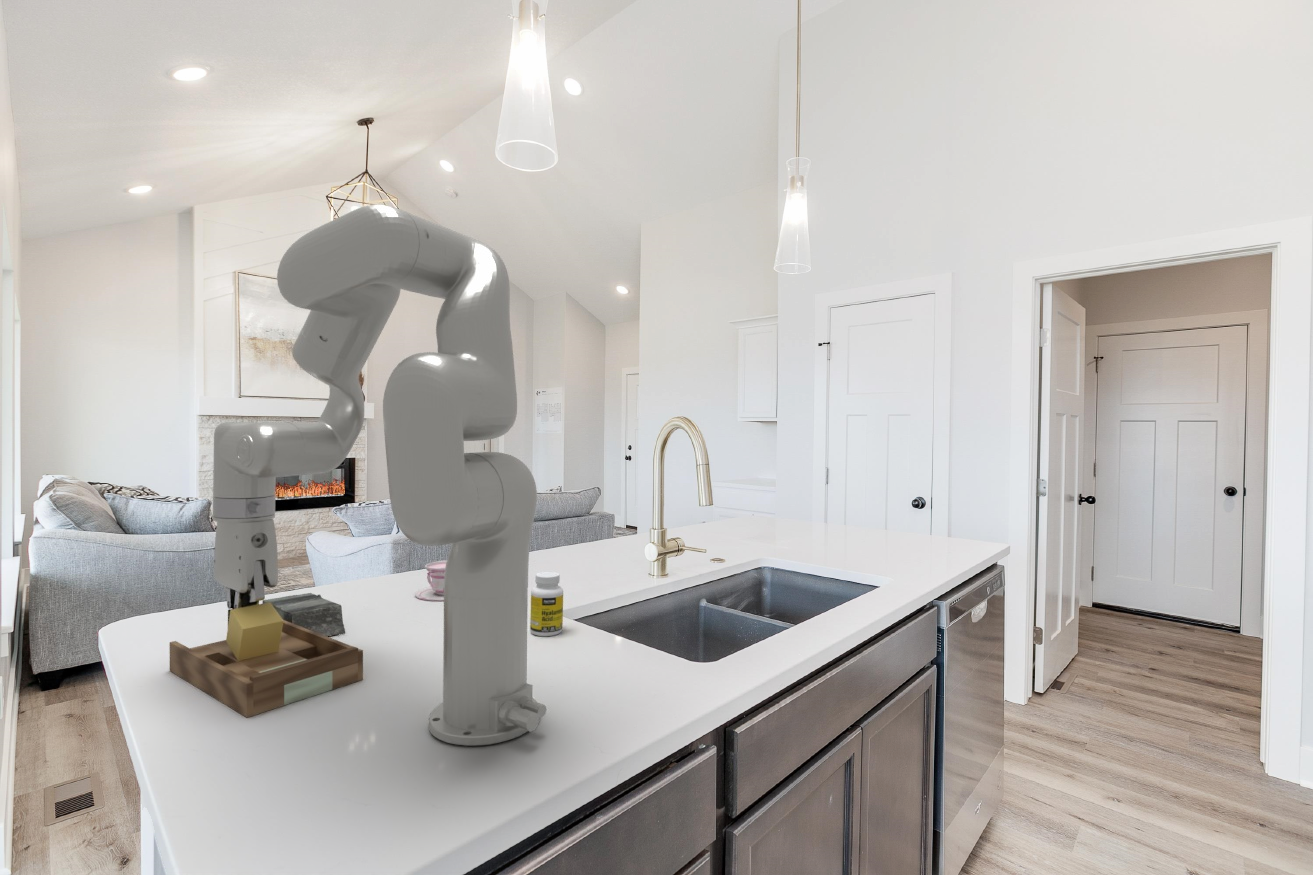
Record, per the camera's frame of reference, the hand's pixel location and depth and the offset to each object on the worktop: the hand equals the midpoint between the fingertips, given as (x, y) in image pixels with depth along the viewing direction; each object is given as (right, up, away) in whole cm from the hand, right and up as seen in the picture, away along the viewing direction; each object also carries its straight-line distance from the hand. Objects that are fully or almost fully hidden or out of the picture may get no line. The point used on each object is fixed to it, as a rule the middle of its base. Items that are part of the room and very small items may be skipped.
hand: (242, 635), depth 93 cm
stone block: (0, -4, +16) cm, 17 cm away
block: (+3, -1, -2) cm, 4 cm away
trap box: (+5, -4, -4) cm, 8 cm away
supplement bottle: (+41, -5, +17) cm, 44 cm away
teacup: (+16, -4, +40) cm, 44 cm away
